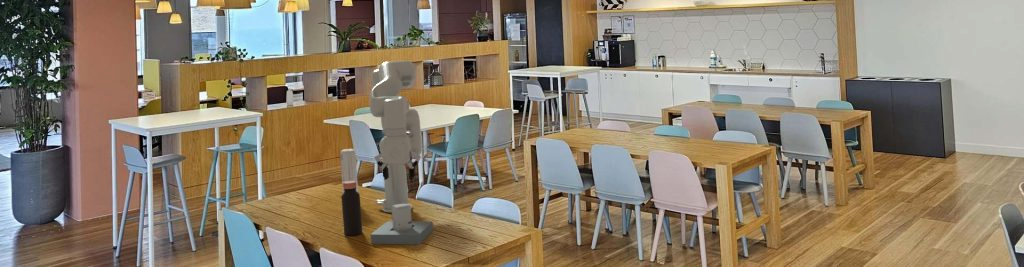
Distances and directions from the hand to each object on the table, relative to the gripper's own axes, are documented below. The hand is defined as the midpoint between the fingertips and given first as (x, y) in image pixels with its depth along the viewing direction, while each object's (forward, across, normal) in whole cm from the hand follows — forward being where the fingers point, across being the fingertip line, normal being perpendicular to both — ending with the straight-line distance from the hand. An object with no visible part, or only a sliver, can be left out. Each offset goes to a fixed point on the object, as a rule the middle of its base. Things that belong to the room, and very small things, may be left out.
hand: (399, 178), depth 282 cm
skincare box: (+22, 0, 0) cm, 22 cm away
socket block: (+22, 0, 0) cm, 22 cm away
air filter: (+22, -39, +47) cm, 65 cm away
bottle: (+22, -21, +4) cm, 31 cm away
